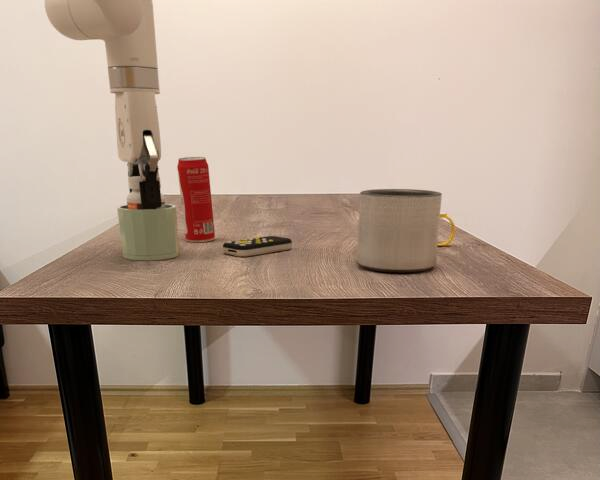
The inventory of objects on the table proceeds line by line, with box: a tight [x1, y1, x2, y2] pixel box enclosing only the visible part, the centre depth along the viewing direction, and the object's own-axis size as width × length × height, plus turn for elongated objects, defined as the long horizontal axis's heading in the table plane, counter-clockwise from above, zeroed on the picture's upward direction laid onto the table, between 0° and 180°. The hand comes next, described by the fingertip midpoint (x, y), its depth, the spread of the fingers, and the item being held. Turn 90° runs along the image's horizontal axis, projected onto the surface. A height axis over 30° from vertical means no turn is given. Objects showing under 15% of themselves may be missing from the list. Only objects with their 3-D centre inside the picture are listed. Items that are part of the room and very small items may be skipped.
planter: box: [356, 188, 443, 274], centre depth 99 cm, size 12×12×11 cm
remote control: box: [222, 235, 293, 258], centre depth 113 cm, size 6×13×2 cm, turn 136°
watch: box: [437, 211, 456, 247], centre depth 119 cm, size 6×3×6 cm, turn 86°
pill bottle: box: [126, 176, 166, 210], centre depth 107 cm, size 6×6×11 cm
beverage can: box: [176, 156, 216, 243], centre depth 121 cm, size 6×6×15 cm
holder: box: [116, 203, 180, 262], centre depth 108 cm, size 10×10×8 cm
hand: (145, 204), depth 106 cm, fingers closed on pill bottle, 6 cm apart
